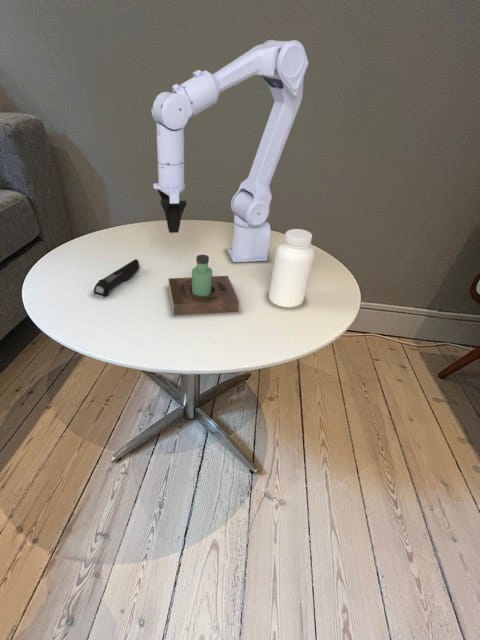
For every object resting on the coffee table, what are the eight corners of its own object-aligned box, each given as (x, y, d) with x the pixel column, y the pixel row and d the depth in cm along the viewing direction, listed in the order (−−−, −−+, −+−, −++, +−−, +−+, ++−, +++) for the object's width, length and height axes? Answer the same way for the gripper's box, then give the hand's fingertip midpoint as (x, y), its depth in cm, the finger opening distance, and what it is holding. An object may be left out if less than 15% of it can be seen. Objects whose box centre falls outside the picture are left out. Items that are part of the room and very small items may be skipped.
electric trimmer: (144, 272, 97) (143, 260, 95) (105, 298, 87) (104, 285, 85) (131, 268, 99) (130, 256, 96) (92, 294, 88) (90, 281, 86)
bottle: (209, 294, 89) (211, 252, 82) (212, 304, 86) (214, 261, 79) (190, 295, 89) (190, 253, 82) (192, 305, 85) (193, 262, 79)
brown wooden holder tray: (227, 285, 92) (227, 275, 91) (237, 311, 84) (239, 301, 82) (168, 288, 91) (168, 278, 89) (173, 315, 82) (173, 304, 80)
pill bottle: (282, 311, 84) (296, 243, 74) (261, 295, 89) (271, 229, 79) (310, 303, 87) (327, 237, 76) (288, 288, 92) (301, 223, 82)
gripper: (150, 154, 88) (153, 216, 97) (154, 171, 77) (157, 238, 86) (181, 154, 89) (181, 215, 98) (189, 170, 78) (188, 237, 87)
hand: (172, 226), depth 92 cm, fingers open, 7 cm apart
